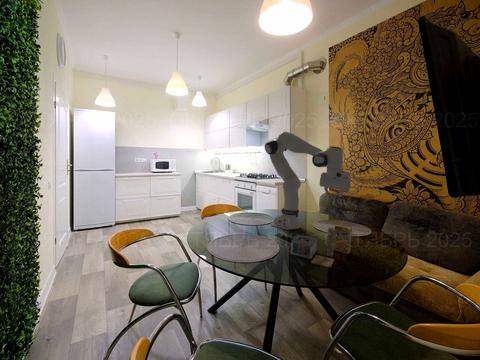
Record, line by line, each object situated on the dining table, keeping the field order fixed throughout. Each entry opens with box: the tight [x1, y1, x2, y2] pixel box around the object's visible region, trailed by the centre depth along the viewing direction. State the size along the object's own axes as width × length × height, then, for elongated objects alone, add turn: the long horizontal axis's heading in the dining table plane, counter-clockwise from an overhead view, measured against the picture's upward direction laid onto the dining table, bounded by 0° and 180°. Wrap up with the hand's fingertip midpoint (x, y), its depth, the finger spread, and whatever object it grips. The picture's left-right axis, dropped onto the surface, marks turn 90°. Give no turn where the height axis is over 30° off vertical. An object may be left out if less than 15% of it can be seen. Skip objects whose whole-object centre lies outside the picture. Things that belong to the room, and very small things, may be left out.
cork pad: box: [310, 254, 335, 268], centre depth 125 cm, size 10×10×1 cm
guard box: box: [290, 233, 318, 260], centre depth 136 cm, size 12×12×8 cm
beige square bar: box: [326, 226, 335, 258], centre depth 132 cm, size 3×3×16 cm
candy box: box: [333, 224, 353, 255], centre depth 138 cm, size 9×4×15 cm, turn 50°
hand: (333, 195), depth 142 cm, fingers open, 8 cm apart
